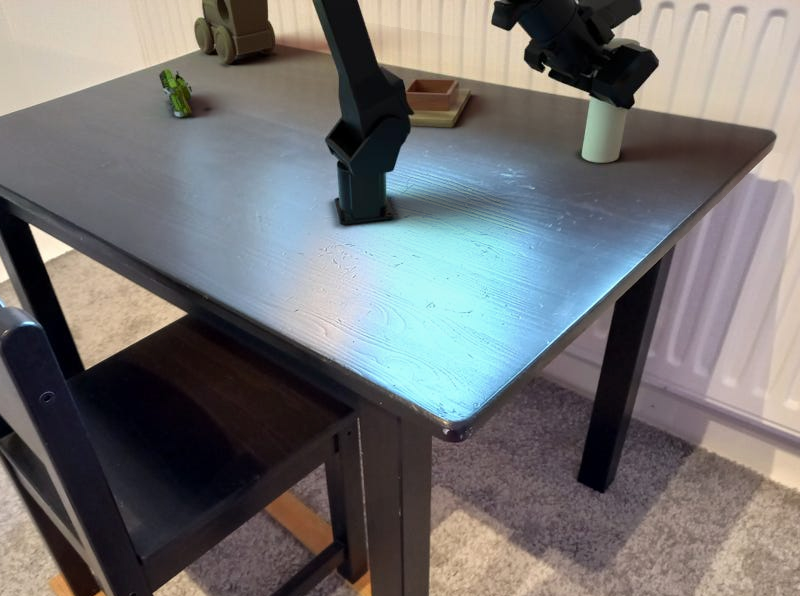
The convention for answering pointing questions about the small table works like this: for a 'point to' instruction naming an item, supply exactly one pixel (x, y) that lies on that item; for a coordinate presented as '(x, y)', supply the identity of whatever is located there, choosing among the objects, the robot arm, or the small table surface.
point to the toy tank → (176, 92)
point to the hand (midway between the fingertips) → (618, 100)
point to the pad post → (605, 123)
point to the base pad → (435, 101)
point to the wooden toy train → (234, 28)
